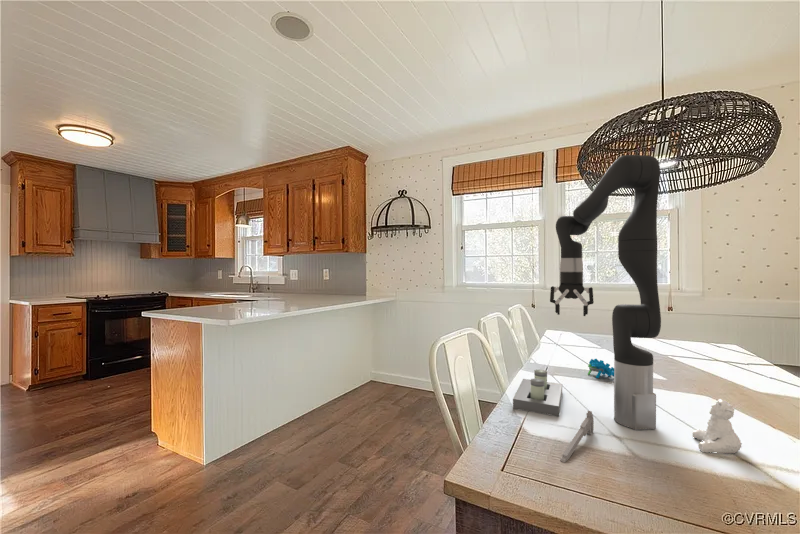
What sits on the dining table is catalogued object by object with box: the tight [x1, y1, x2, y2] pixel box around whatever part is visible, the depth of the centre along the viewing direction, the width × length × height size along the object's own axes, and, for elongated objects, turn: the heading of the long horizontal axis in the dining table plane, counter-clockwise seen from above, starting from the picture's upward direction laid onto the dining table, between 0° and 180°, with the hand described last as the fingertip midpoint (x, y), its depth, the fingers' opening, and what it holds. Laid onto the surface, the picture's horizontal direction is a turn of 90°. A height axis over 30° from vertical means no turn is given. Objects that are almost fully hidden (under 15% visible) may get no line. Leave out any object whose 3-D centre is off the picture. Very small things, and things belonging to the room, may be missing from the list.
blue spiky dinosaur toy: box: [587, 358, 614, 379], centre depth 142 cm, size 11×6×10 cm
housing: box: [512, 369, 563, 417], centre depth 118 cm, size 22×13×8 cm, turn 153°
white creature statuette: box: [692, 398, 743, 454], centre depth 87 cm, size 10×9×12 cm
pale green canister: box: [530, 378, 545, 401], centre depth 113 cm, size 4×4×8 cm
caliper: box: [559, 410, 595, 463], centre depth 88 cm, size 20×1×6 cm, turn 136°
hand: (571, 315), depth 131 cm, fingers open, 8 cm apart
